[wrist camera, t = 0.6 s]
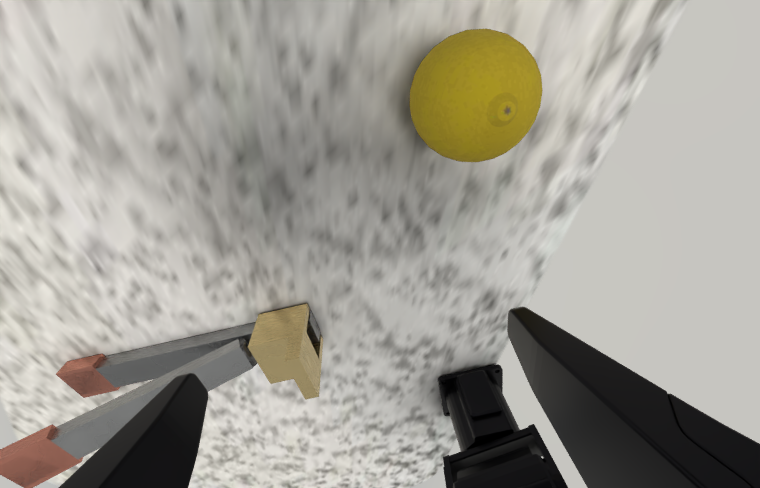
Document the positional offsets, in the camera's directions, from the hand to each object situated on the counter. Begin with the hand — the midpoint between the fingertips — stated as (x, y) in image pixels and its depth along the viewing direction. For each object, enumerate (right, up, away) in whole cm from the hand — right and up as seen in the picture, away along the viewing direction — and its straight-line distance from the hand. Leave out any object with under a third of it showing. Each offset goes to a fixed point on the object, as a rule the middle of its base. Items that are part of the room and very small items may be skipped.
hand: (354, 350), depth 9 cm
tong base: (-15, -6, +17) cm, 23 cm away
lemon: (+4, +12, +9) cm, 16 cm away
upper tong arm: (-16, -8, +14) cm, 23 cm away
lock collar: (-7, -4, +17) cm, 19 cm away
